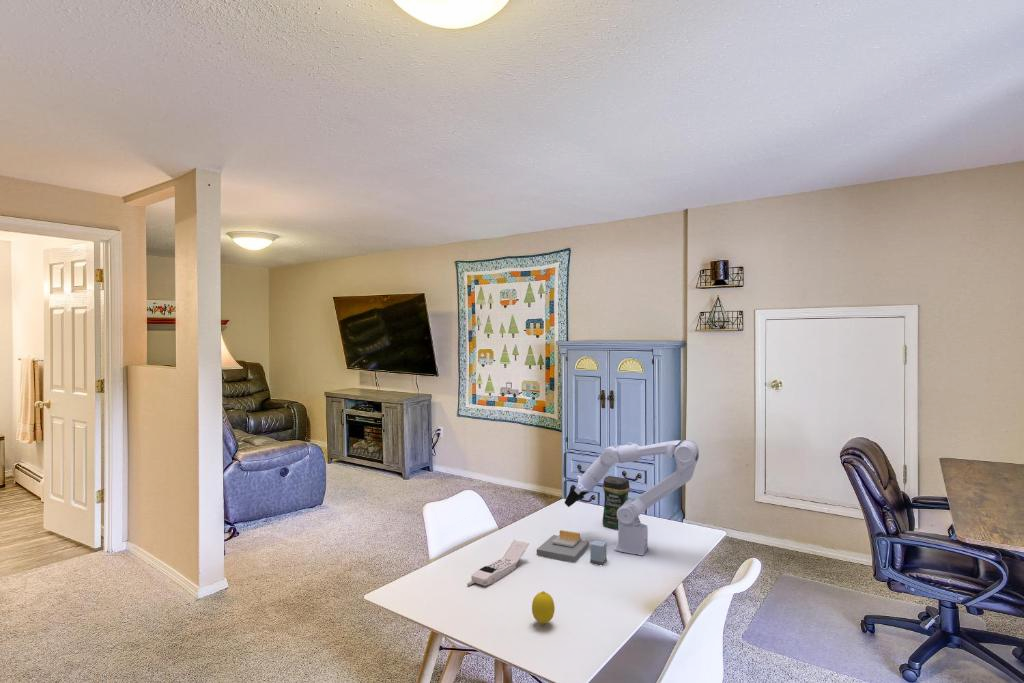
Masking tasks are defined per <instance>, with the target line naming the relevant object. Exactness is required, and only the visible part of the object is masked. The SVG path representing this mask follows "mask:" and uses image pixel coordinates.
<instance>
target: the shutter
mask: <svg viewBox="0 0 1024 683" xmlns="http://www.w3.org/2000/svg"><path fill="white" fill-rule="evenodd" d="M557 536H558V537H556V538H555V539H554V540H553V541H552V543H553V544H558V545H564V546H569V547H574V546H575V545H576V544H577V543H578V542H579V541H580V540H582V539H581V533H580V532H573V531H568V530H563V529H560V530H559V535H557Z"/></svg>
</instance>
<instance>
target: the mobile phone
mask: <svg viewBox="0 0 1024 683" xmlns="http://www.w3.org/2000/svg"><path fill="white" fill-rule="evenodd" d="M529 545H530V543H527V542H524V541H521V540H514V539H513V541H512V542H511V544H510V546H508V548H507V550H506V552H505V553H504V555H503V557H502V558H501V557H500V558H499V559H498V560H496V561H493V562H492V563H489V564H488V565H484V566H482V567H480V568H478V570H476V571H474V572H473V573H472V574H471V580H470V581H469V582H468V583H467V584H466V585H467V587H470V586H472V585H474V584H478V585H481V586H484V587H485V586H489V585H494V584H495V583H496V582H497V581H499V580H500V579H502V578H503V577H504V578H505V576H506V575H508V574H510V573H511V571H512V572H513V571H515V570H516V567H517V564H518V563H519V561H520V559H521V558H522V556H523V555H524V553H525V552H526V550H527V548H528V546H529ZM514 569H515V570H514Z"/></svg>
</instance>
